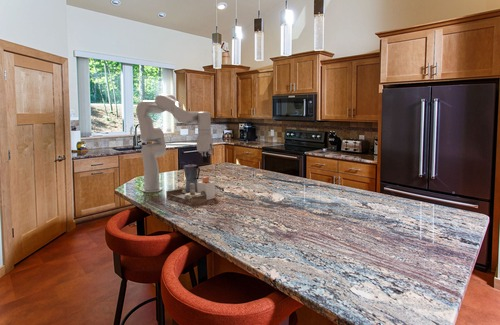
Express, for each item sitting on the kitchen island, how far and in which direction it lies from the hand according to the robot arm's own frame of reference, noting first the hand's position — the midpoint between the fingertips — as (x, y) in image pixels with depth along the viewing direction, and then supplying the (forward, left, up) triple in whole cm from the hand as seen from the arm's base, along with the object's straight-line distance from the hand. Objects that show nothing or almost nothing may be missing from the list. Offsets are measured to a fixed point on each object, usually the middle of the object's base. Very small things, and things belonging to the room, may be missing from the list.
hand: (205, 162), depth 199 cm
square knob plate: (0, -11, -20) cm, 23 cm away
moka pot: (-19, +5, -22) cm, 30 cm away
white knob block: (0, 0, -22) cm, 22 cm away
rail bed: (-6, -11, -22) cm, 26 cm away
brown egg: (0, 0, -13) cm, 13 cm away
